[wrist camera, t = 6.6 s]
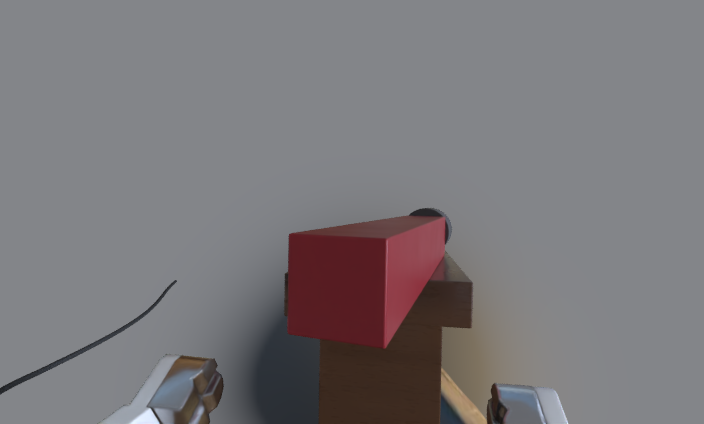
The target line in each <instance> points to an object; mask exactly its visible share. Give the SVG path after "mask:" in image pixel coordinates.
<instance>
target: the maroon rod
mask: <svg viewBox="0 0 704 424" xmlns="http://www.w3.org/2000/svg"><path fill="white" fill-rule="evenodd" d="M451 232H452V227H451V223H450V220H449V218H448V217H447V216H446V215H445V214H444V213H443V212H442V211H440V210H437V209H434V208H425V209H419V210H416V211H414V212H412V213H411V214H410V215H409V216H402V217H395V218H389V219H382V220H376V221H369V222H362V223H356V224H349V225H343V226H337V227H329V228H324V229H316V230H310V231H304V232H297V233H291V234H289V254H288V260H289V261H288V327H287V329H288V330H287V332H288V334H290V335H297V336H303V337H310V338H317V339H323V340H329V341H336V342H342V343H349V344H355V345H362V346H368V347H375V348H381V349H384V348H386V347H387V345H388V343H389V342H390V340H391V339H392V337H393V336H394V334H395V332H396V331H397V329H398V328H399V326H400V325H401V323H402V321H403V320H404V318H405V317H406V315H407V313H408V312H409V310H410V309H411V307H412V306H413V304H414V302H415V301H416V299H417V298H418V296H419V295H420V293H421V291H422V290H423V288H424V287H425V285H426V284H427V282H428V280H429V279H430V277H431V276H432V274H433V272H434V271H435V269H436V268H437V266H438V265H439V263H440V261H441V260H442V258H443V257H444V255H445V244H446V243H447V242H448V241H449V239H450V236H451Z"/></svg>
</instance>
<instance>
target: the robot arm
mask: <svg viewBox="0 0 704 424" xmlns="http://www.w3.org/2000/svg"><path fill="white" fill-rule="evenodd" d="M176 282H177V281H176V280H175V281H174V282H173V283H171V285H169V287H167V289H166V290H165V291H164V292H163V294H162V295H161V296H160V297H159V299H158V300H157V301H156V302H155V303H154V304H153V305H152V306H151V307H150V308H149V309H148V310H146V311H145V312H144V313H143V314H141V315H140V316H139V317H137V318H136V319H134V320H133V321H131V322H129V323H128V324H126V325H125V326H123V327H121V328H120V329H118V330H116V331H114V332H112V333H111V334H109V335H107V336H105V337H103V338H102V339H100V340H98V341H96V342H94V343H92V344H90V345H88V346H86V347H84V348H82V349H80V350H78V351H76V352H74V353H72V354H70V355H68V356H66V357H64V358H62V359H59V360H57V361H55V362H53V363H51V364H49V365H47V366H45V367H43V368H41V369H39V370H37V371H34V372H32V373H30V374H27V375H25V376H23V377H21V378H19V379H17V380H15V381H13V382H11V383H9V384H7V385H5V386H3V387H1V388H0V394H2V393H3V392H5V391H7V390H9V389H11V388H12V387H14V386H16V385H18V384H20V383H22V382H24V381H27V380H29V379H31V378H33V377H35V376H37V375H39V374H42V373H44V372H46V371H48V370H50V369H52V368H54V367H56V366H58V365H60V364H61V363H64V362H66V361H68V360H69V359H72V358H74V357H76V356H78V355H80V354H82V353H83V352H85V351H87V350H89V349H91V348H93V347H95V346H97V345H99V344H101V343H102V342H104V341H106V340H108V339H110V338H111V337H113V336H115V335H117V334H118V333H120V332H122V331H123V330H125V329H127V328H128V327H130V326H131V325H133V324H134V323H135V322H137V321H138V320H140V319H141V318H143V317H144V316H145V315H146V314H148V313H149V312H150V311H151V310H152V309H153V308H154V307H155V306H156V305H157V304H158V303H159V302H160V300H161V299H162V298H163V297H164V295H165V294H166V293H167V291H168V290H169V289H170V288H171V287H172V286H173V285H174V284H175V283H176ZM216 368H217V363H216V361H215V359H212V358H202V357H191V356H183V355H171V354H166V355H165V356H163V357H162V358H161V359H160V360H159V362H158V363H157V365H156V366H155V368H154V369H153V371H152V372H151V373H150V375H149V376H148V378H147V379H146V381H145V382H144V384H143V385H142V387H141V388H140V390H139V391H138V393H137V394H136V396H135V397H134V398H133V400H132V401H131V403H130V404H129V405H123V406H122V407H121V408H119V409H118V410H116V411H115V412H113V413H112V414H111V415H109V416H108V417H107V418H105V419H103V420H102V421H101V422H99V423H98V424H209V423H210V418H209V413H210V412H211V411H212V410H214V409H215V408H216V407H217V406H218V404H219V401H220V399H221V396H222V392H223V387H224V386H223V378H222V375H221V374H220V373H218V372H217V371H216ZM491 394H492V398H491V399H490V400H488V405H487V424H568V422H567V419H566V417H565V414H564V411H563V409H562V406H561V403H560V400H559V398H558V395H557V393H556V392H555V390H554V389H552V388H544V387H532V386H524V385H510V384H497V383H494V384H493V385H492V388H491Z"/></svg>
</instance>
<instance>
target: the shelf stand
mask: <svg viewBox="0 0 704 424" xmlns="http://www.w3.org/2000/svg"><path fill="white" fill-rule="evenodd" d="M472 305H473V283H472V281H471V280H470V279H469V278H468V277H467V276H466V274H465V273H464V272H463V271H462V270H461V268H460V267H459V266H458V265H457V264H456V263H455V261H454V260H453V259H452V258H451V257H450V256H449V255H448V253H447V252H446V251H445V255H444V257H443V258H442V260H441V261H440V263H439V265H438V266H437V268H436V269H435V271H434V272H433V274H432V276H431V277H430V279H429V280H428V282H427V284H426V285H425V287H424V288H423V290H422V291H421V293H420V295H419V296H418V298H417V299H416V301H415V302H414V304H413V306H412V307H411V309H410V310H409V312H408V313H407V315H406V317H405V318H404V320H403V321H402V323H401V325H400V326H399V328H398V329H397V331H396V332H395V334H394V336H393V337H392V339H391V340H390V342H389V343H388V345H387V347H386V348H384V349H381V348H375V347H368V346H362V345H355V344H349V343H342V342H336V341H329V340H323V339H320V368H319V424H440V397H441V357H442V327H457V328H472ZM284 315H285V316H288V272H287V273H285V300H284Z"/></svg>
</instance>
